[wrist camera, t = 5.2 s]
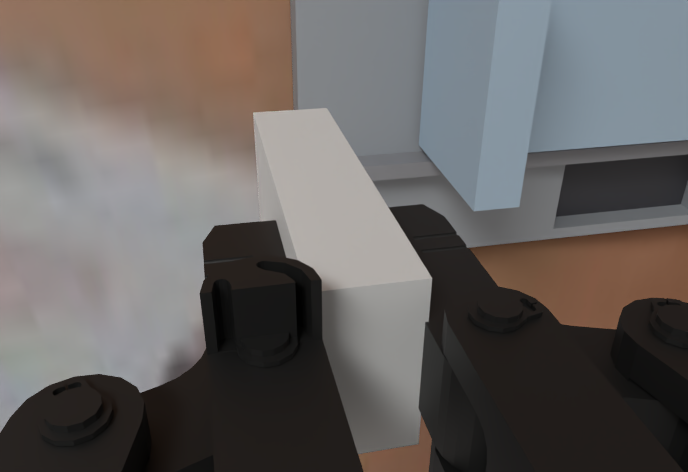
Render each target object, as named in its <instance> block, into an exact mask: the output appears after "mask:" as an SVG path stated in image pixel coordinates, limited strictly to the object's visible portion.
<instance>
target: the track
mask: <svg viewBox="0 0 688 472" xmlns="http://www.w3.org/2000/svg"><path fill="white" fill-rule="evenodd" d="M428 4H429V0H290V6H291V38H292V71H293V103H294V110H302V109H318V108H327V109H328V111H329V112H330V114H331V115H332V117H333V119H334V120H335V122H336V124H337V125H338V127H339V128H340V130H341V132H342V133H343V135H344V136H345V138H346V140H347V141H348V143H349V145H350V146H351V148H352V149H353V151H354V153H355V154H356V156H357V157H358V159H359V161H360V162H361V164H362V166H363V167H364V169H365V170H366V172H367V174H368V175H369V177H370V178H371V180H372V182H373V183H374V185H375V187H376V188H377V190H378V191H379V193H380V195H381V196H382V198H383V199H384V201H385V203H386V204H387V206H388V207H396V206H407V205H418V204H424V205H425V206H427V207H429V208H431V209H432V210H434V211H436V212H438V213H439V214H441V215H443V216H445V218H446V219H447V220H448V222H449V223H450V224H451V225H452V227H453V228H454V229H455V231H456V232H457V235H459V236H460V237H461V239H462V240H463V241H464V242H465V244H466V247H467V248H470V247H479V246H489V245H498V244H507V243H517V242H526V241H535V240H545V239H554V238H564V237H573V236H582V235H592V234H601V233H610V232H620V231H629V230H638V229H648V228H657V227H666V226H676V225H685V224H688V140H681V141H669V142H656V143H644V144H631V145H619V146H606V147H594V148H581V149H569V150H556V151H544V152H531V153H528V154H527V161H526V167H525V173H524V180H523V186H522V192H521V198H520V205H519V207H514V208H504V209H493V210H483V211H473V210H472V209H471V208H470V206H469V205H468V204H467V203H466V201H465V200H464V199H463V198H462V197H461V195H460V194H459V193H458V192H457V191H456V189H455V188H454V187H453V186H452V185H451V183H450V182H449V181H448V180H447V178H446V177H445V176H444V175H443V174H442V172H441V171H440V170H439V169H438V168H437V166H436V165H435V164H434V163H433V162H432V160H431V159H430V158H429V157H428V156H427V154H426V153H425V152H424V151H423V149H422V148H421V147H420V146H419V134H420V119H421V105H422V90H423V76H424V61H425V47H426V32H427V18H428Z"/></svg>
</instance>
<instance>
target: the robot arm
mask: <svg viewBox="0 0 688 472" xmlns="http://www.w3.org/2000/svg"><path fill="white" fill-rule="evenodd" d="M253 118H254V133H255V149H256V164H257V180H258V196H259V211H260V222H250V223H239V224H229V225H218V226H214V228H213V229H212V230H211V232H210V233H209V235H208V236H207V237H206V239H205V240H204V241H203V255H204V272H205V280H204V281H203V285H202V288H201V291H200V299H201V308H202V316H203V324H204V332H205V341H206V350H205V352H204V354H203V356H202V357H201V359H200V360H199V361H198V362H197V363H196V364H195V365H194V366H193V367H192V368H191V369H190V370H188V371H187V372H185V373H184V374H182V375H181V376H180V377H178V378H176V379H174V380H172V381H170V382H167V383H165V384H163V385H161V386H158V387H155V388H153V389H150V390H147V391H145V392H142V393H140V392H139V390H138V388H137V387H136V386H134V385H132V384H131V383H129V382H127V381H126V380H124V379H122V378H120V377H114V376H108V375H102V374H96V375H87V376H77V377H72V378H69V379H67V380H64V381H61V382H58V383H55V384H52V385H49V386H48V387H46V388H44V389H43V390H41V391H40V392H38V393H36V394H35V395H33V396H31V397H30V398H28V399H27V400H26V401H25V402H24V403H23V404H22V405H21V406H20V407H19V408H18V410H17V411H16V412H15V413H14V414H13V415H12V416H11V417H10V419H9V420H8V422H7V423H6V425H5V427H4V428H3V430H2V431H1V433H0V472H363V469H362V466H361V462H360V459H359V456H358V454H362V453H368V452H374V451H380V450H386V449H392V448H398V447H404V446H410V445H416V444H419V432H420V420H421V415H422V417H423V420H424V422H425V424H426V426H427V429H428V431H429V433H430V435H431V438H432V445H431V455H430V465H429V472H688V303H685V302H682V301H680V300H676V299H668V298H667V299H664V298H648V299H642V300H636V301H633V302H632V303H630V304H629V305H627V306H625V307H624V308H623V310H622V313H621V315H620V318H619V322H618V326H617V330H614V329H602V328H589V327H577V326H569V325H562V324H560V323H559V322H558V320H557V319H556V318H555V317H554V316H553V314H552V313H551V312H550V311H549V310H548V309H547V308H546V307H545V306H544V305H543V304H541V303H540V302H539V301H538V300H536V299H535V298H533V297H531V296H529V295H526V294H524V293H522V292H520V291H517V290H512V289H507V288H503V287H498V286H497V284H496V283H495V282H494V280H493V279H492V278H491V276H490V275H489V274H488V272H487V271H486V270H485V269H484V267H483V266H482V265H481V263H480V262H479V261H478V259H477V258H476V257H475V255H474V254H473V253H472V252H471V250H470V249H469V248H468V249H467V247H466V244H465V242H464V241H463V240H462V239H461V237H460V236H459V235H457V232H456V231H455V229H454V228H453V227H452V225H451V224H450V223H449V222H448V220H447V219H446V218H445V216H443V215H441V214H439V213H438V212H436V211H434V210H432V209H431V208H429V207H427V206H425V205H424V204H418V205H407V206H396V207H388V206H387V204H386V203H385V201H384V199H383V198H382V196H381V195H380V193H379V191H378V190H377V188H376V187H375V185H374V183H373V182H372V180H371V178H370V177H369V175H368V174H367V172H366V170H365V169H364V167H363V166H362V164H361V162H360V161H359V159H358V157H357V156H356V154H355V153H354V151H353V149H352V148H351V146H350V145H349V143H348V141H347V140H346V138H345V136H344V135H343V133H342V132H341V130H340V128H339V127H338V125H337V124H336V122H335V120H334V119H333V117H332V115H331V114H330V112H329V111H328V109H327V108H318V109H302V110H286V111H271V112H255V113H253Z"/></svg>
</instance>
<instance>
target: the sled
mask: <svg viewBox="0 0 688 472" xmlns="http://www.w3.org/2000/svg"><path fill="white" fill-rule="evenodd" d="M681 140H688V0H429V4H428V18H427V32H426V47H425V61H424V76H423V90H422V105H421V119H420V134H419V146H420V147H421V148H422V149H423V151H424V152H425V153H426V154H427V156H428V157H429V158H430V159H431V160H432V162H433V163H434V164H435V165H436V166H437V168H438V169H439V170H440V171H441V172H442V174H443V175H444V176H445V177H446V178H447V180H448V181H449V182H450V183H451V185H452V186H453V187H454V188H455V189H456V191H457V192H458V193H459V194H460V195H461V197H462V198H463V199H464V200H465V201H466V203H467V204H468V205H469V206H470V208H471V209H472V210H473V211H483V210H493V209H504V208H514V207H519V205H520V198H521V192H522V186H523V180H524V173H525V167H526V161H527V154H528V153H531V152H544V151H556V150H569V149H581V148H594V147H606V146H619V145H631V144H644V143H656V142H669V141H681Z"/></svg>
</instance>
